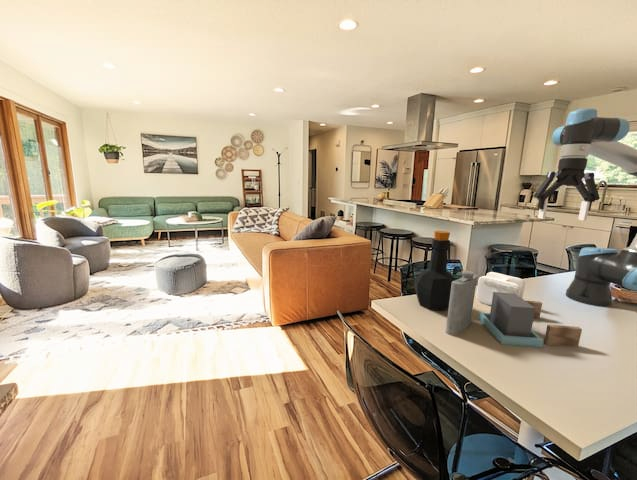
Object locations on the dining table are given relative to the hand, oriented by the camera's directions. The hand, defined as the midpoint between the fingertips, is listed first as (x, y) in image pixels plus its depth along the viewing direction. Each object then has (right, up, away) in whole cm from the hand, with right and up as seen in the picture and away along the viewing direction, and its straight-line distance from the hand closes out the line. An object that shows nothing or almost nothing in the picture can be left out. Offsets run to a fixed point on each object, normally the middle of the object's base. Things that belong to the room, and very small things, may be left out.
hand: (561, 219), depth 108 cm
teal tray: (-24, -38, -7) cm, 46 cm away
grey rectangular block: (-24, -38, -7) cm, 45 cm away
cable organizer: (-13, -34, +16) cm, 40 cm away
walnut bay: (-10, -38, -4) cm, 40 cm away
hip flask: (-39, -38, -4) cm, 54 cm away
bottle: (-41, -34, +13) cm, 54 cm away
